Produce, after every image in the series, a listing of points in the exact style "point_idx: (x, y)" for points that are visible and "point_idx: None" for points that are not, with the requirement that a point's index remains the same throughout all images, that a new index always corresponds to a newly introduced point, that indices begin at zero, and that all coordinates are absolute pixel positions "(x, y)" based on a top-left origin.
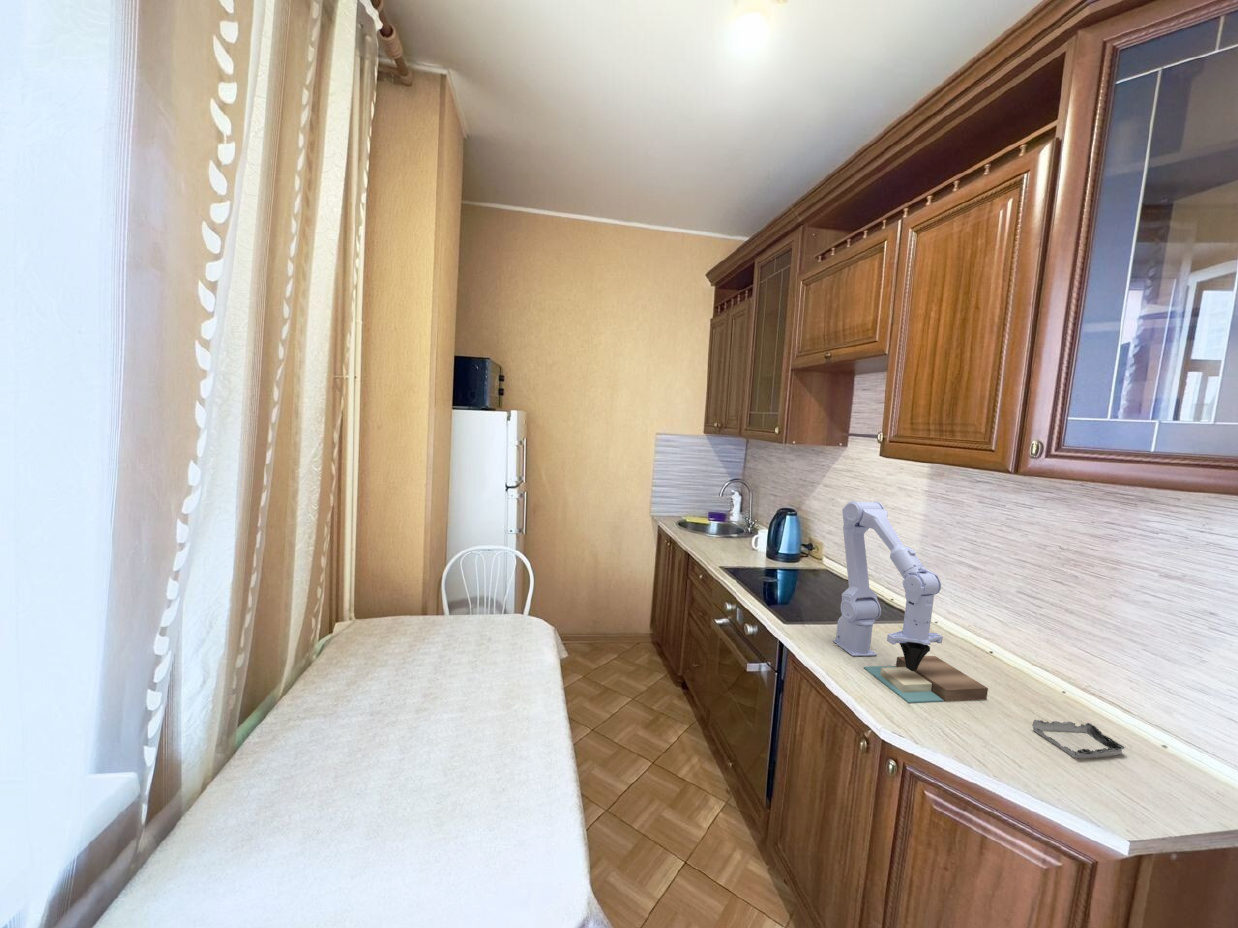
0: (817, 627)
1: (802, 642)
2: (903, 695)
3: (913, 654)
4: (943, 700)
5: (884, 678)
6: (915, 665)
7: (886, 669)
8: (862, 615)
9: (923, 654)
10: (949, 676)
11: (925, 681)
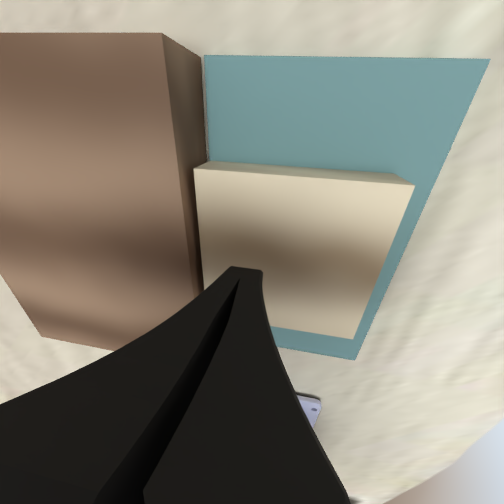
0: None
1: (407, 466)
2: (430, 142)
3: (292, 399)
4: (206, 56)
5: None
6: (240, 288)
7: (338, 324)
8: None
9: (135, 363)
10: (46, 202)
11: (217, 196)
